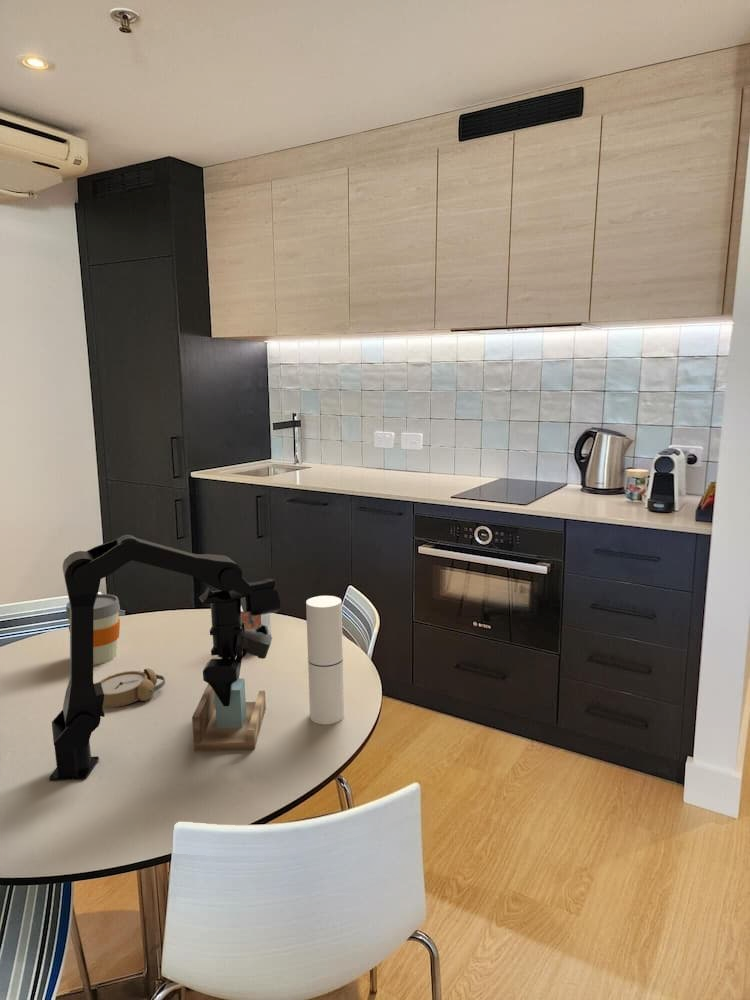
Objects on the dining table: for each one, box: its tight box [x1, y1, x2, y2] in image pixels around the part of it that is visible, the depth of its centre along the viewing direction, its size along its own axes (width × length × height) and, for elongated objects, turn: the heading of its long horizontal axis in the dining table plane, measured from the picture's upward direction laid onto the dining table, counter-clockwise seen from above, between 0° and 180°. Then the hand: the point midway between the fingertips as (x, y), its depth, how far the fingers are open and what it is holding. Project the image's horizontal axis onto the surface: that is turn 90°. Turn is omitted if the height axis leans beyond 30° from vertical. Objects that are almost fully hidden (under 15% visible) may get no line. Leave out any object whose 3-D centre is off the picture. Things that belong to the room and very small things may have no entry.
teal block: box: [214, 678, 247, 728], centre depth 130 cm, size 5×5×8 cm
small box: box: [241, 606, 272, 635], centre depth 171 cm, size 8×6×10 cm
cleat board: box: [191, 683, 267, 752], centre depth 131 cm, size 16×11×7 cm
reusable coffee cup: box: [65, 593, 121, 666], centre depth 165 cm, size 13×13×15 cm
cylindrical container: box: [305, 595, 345, 725], centre depth 133 cm, size 7×7×25 cm
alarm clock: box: [99, 668, 166, 708], centre depth 146 cm, size 11×5×15 cm
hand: (231, 694), depth 130 cm, fingers open, 9 cm apart
